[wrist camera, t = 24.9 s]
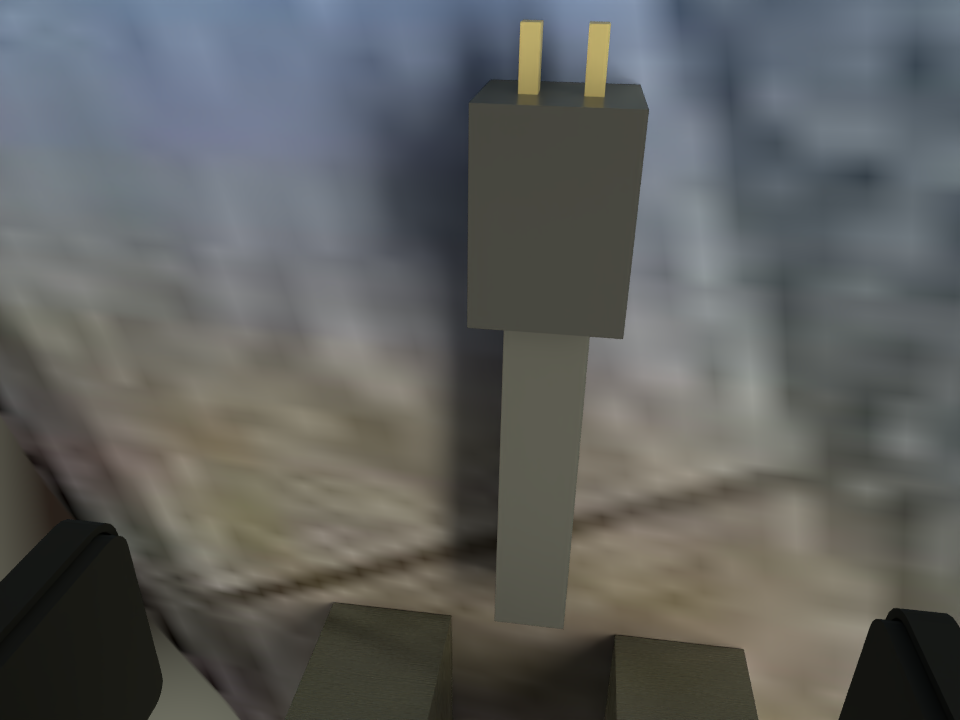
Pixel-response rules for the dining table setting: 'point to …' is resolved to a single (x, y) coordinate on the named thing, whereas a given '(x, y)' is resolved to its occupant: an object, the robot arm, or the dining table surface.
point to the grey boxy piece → (428, 673)
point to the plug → (548, 289)
